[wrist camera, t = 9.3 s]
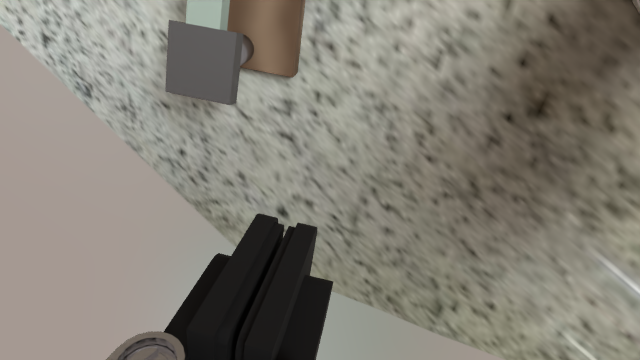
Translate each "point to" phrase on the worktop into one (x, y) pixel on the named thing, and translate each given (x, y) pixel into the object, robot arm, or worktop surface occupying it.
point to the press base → (268, 33)
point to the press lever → (204, 53)
